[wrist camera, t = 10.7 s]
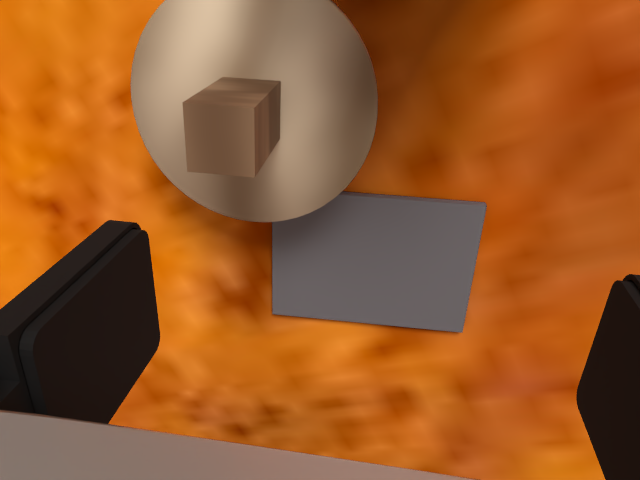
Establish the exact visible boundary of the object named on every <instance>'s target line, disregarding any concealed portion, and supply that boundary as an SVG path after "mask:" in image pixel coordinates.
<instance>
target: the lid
mask: <svg viewBox="0 0 640 480" xmlns="http://www.w3.org/2000/svg"><path fill="white" fill-rule="evenodd" d="M131 99H132V105H133V111H134V116H135V120H136V123H137V126H138V130H139V132H140V135H141V137H142V139H143V142H144V144H145V146H146V148H147V150H148V151H149V153H150V155H151V157H152V158H153V160H154V161H155V163H156V164H157V166H158V167H159V168H160V170H161V171H162V172H163V173H164V175H165V176H166V177H167V178H168V179H169V180H170V181H171V182H172V183H173V184H174V185H175V186H176V187H177V188H178V189H179V190H181V191H182V192H183V193H184V194H185V195H187V196H188V197H190V198H191V199H193V200H194V201H195V202H197V203H199V204H200V205H202V206H204V207H206V208H208V209H210V210H212V211H214V212H217V213H219V214H222V215H224V216H228V217H231V218H235V219H239V220H245V221H252V222H275V221H284V220H288V219H293V218H297V217H300V216H303V215H305V214H308V213H311V212H313V211H315V210H317V209H318V208H320V207H322V206H324V205H325V204H327V203H328V202H330V201H331V200H333V199H334V198H335V197H336V196H337V195H339V194H340V193H341V192H342V191H343V190H344V189H345V188H346V187H347V186H348V185H349V183H350V182H351V181H352V180H353V179H354V177H355V176H356V175H357V173H358V171H359V170H360V168H361V167H362V165H363V163H364V161H365V159H366V157H367V155H368V152H369V150H370V147H371V144H372V141H373V137H374V134H375V128H376V122H377V113H378V92H377V82H376V77H375V73H374V68H373V64H372V61H371V58H370V56H369V53H368V50H367V48H366V46H365V44H364V42H363V40H362V38H361V36H360V34H359V33H358V31H357V29H356V28H355V27H354V25H353V24H352V22H351V21H350V20H349V18H348V17H347V16H346V15H345V14H344V13H343V11H342V10H341V9H340V8H339V7H338V6H337V5H336V4H335V3H334V2H333V1H331V0H165V1H164V2H163V3H162V4H161V5H160V6H159V7H158V9H157V10H156V11H155V13H154V14H153V15H152V17H151V18H150V20H149V21H148V23H147V25H146V27H145V29H144V30H143V32H142V34H141V37H140V39H139V42H138V45H137V48H136V50H135V55H134V60H133V64H132V73H131Z"/></svg>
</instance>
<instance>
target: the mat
mask: <svg viewBox="0 0 640 480" xmlns="http://www.w3.org/2000/svg"><path fill="white" fill-rule="evenodd" d="M486 207H487V206H486V203H485V202H473V201H460V200H447V199H434V198H421V197H408V196H395V195H382V194H369V193H356V192H343V191H342V192H341V193H340V194H339V195H337V196H336V197H335V198H334V199H333V200H331V201H330V202H328V203H327V204H325V205H324V206H322V207H320V208H318V209H317V210H315V211H313V212H311V213H308V214H305V215H303V216H300V217H297V218H293V219H288V220H284V221H275V222H272V301H273V314H277V315H288V316H298V317H308V318H318V319H329V320H339V321H349V322H359V323H369V324H380V325H390V326H400V327H410V328H421V329H431V330H441V331H451V332H462V331H463V326H464V321H465V316H466V311H467V306H468V300H469V295H470V290H471V285H472V280H473V274H474V269H475V264H476V259H477V254H478V248H479V243H480V238H481V233H482V228H483V222H484V217H485V212H486Z"/></svg>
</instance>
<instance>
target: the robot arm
mask: <svg viewBox="0 0 640 480" xmlns="http://www.w3.org/2000/svg"><path fill="white" fill-rule="evenodd" d="M159 341H160V330H159V321H158V313H157V304H156V296H155V288H154V279H153V271H152V262H151V254H150V246H149V238H148V234H147V232H146V231H145V230H141V228H140V226H139V225H138V224H137V223H133V222H123V221H114V220H109V221H107V222H105V223H104V224H103V225H102V226H101V227H99V228H98V229H97V230H96V231H94V232H93V233H92V234H91V235H90V236H88V237H87V238H86V239H85V240H84V241H82V242H81V243H80V244H79V245H78V246H76V247H75V248H74V249H73V250H72V251H70V252H69V253H68V254H67V255H66V256H64V257H63V258H62V259H61V260H59V261H58V262H57V263H56V264H55V265H53V266H52V267H51V268H50V269H49V270H47V271H46V272H45V273H44V274H43V275H41V276H40V277H39V278H38V279H37V280H35V281H34V282H33V283H32V284H30V285H29V286H28V287H27V288H26V289H24V290H23V291H22V292H21V293H20V294H18V295H17V296H16V297H15V298H14V299H12V300H11V301H10V302H9V303H8V304H6V305H5V306H4V307H3V308H1V309H0V480H479V479H472V478H465V477H459V476H452V475H445V474H439V473H432V472H425V471H419V470H412V469H405V468H399V467H392V466H385V465H379V464H372V463H365V462H359V461H352V460H345V459H339V458H332V457H325V456H319V455H312V454H305V453H299V452H292V451H286V450H279V449H272V448H266V447H259V446H252V445H246V444H239V443H233V442H226V441H219V440H213V439H206V438H199V437H193V436H186V435H179V434H172V433H166V432H159V431H152V430H145V429H138V428H131V427H124V426H117V425H110V424H108V423H109V421H110V420H111V418H112V417H113V415H114V414H115V412H116V411H117V409H118V408H119V406H120V405H121V403H122V402H123V400H124V399H125V397H126V396H127V394H128V393H129V391H130V390H131V388H132V387H133V385H134V384H135V382H136V381H137V379H138V378H139V376H140V375H141V373H142V372H143V370H144V369H145V367H146V366H147V364H148V363H149V361H150V360H151V358H152V357H153V355H154V354H155V352H156V351H157V348H158V346H159ZM577 405H578V409H579V411H580V414H581V417H582V419H583V422H584V424H585V427H586V430H587V432H588V435H589V437H590V440H591V443H592V445H593V448H594V450H595V453H596V456H597V458H598V461H599V464H600V466H601V469H602V471H603V474H604V477H605V479H606V480H640V275H632V274H629V275H627V276H626V277H625V278H624V279H623V281H618V280H617V281H615V282H614V284H613V286H612V288H611V291H610V294H609V297H608V299H607V302H606V305H605V308H604V311H603V314H602V317H601V320H600V323H599V326H598V329H597V332H596V335H595V338H594V341H593V344H592V347H591V350H590V353H589V356H588V359H587V362H586V365H585V368H584V371H583V374H582V377H581V380H580V382H579V385H578V389H577Z"/></svg>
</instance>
